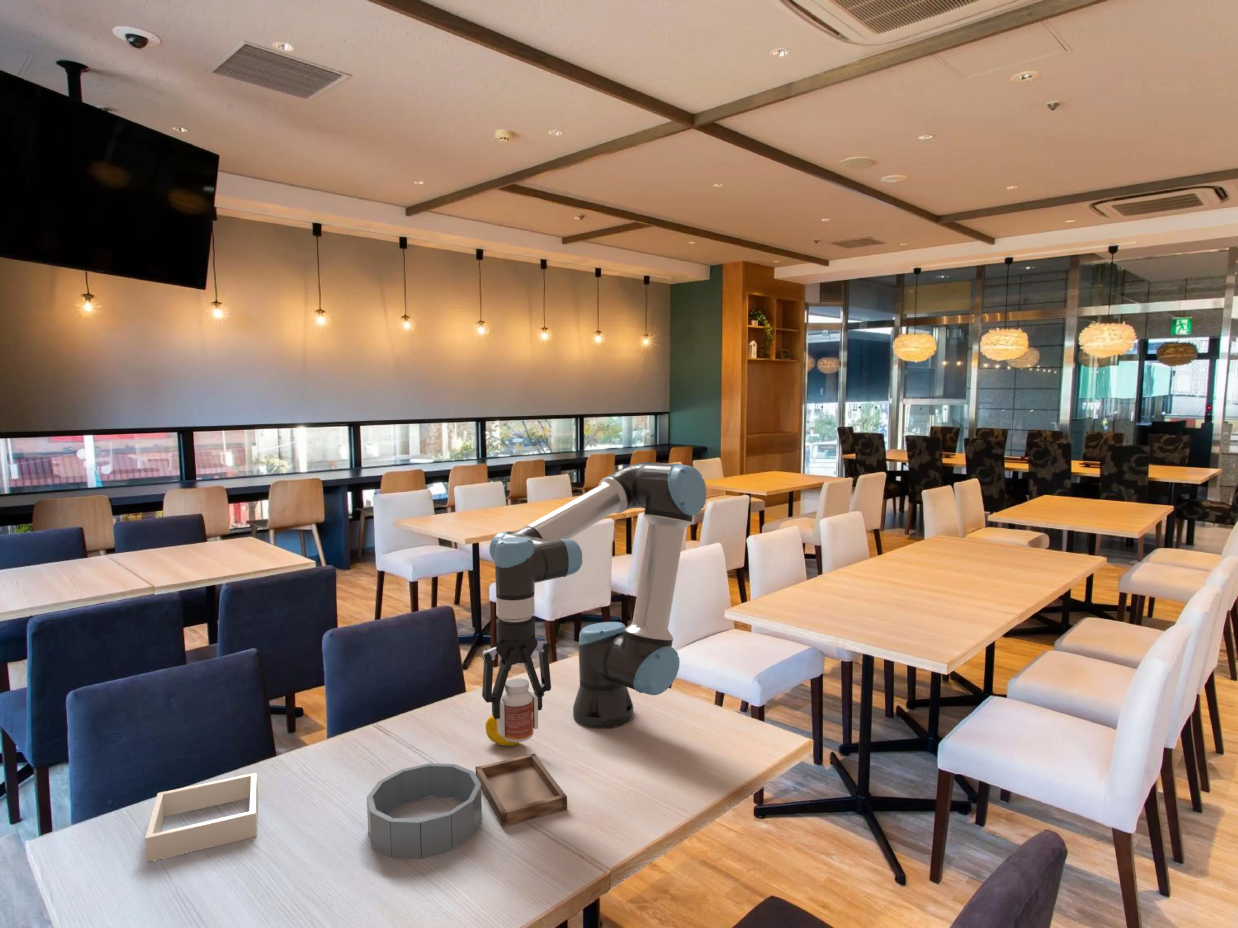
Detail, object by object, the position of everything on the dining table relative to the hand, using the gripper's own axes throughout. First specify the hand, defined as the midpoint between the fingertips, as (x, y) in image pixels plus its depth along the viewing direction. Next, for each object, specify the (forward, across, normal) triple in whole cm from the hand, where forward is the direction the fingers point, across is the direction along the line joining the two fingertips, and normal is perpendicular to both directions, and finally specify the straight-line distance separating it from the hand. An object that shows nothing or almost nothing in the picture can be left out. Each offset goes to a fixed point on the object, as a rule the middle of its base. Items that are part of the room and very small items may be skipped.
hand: (517, 729), depth 144 cm
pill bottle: (+2, 0, 0) cm, 2 cm away
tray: (+14, 0, 0) cm, 14 cm away
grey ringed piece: (+14, +19, +2) cm, 23 cm away
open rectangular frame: (+14, +56, -16) cm, 60 cm away
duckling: (+14, -4, -21) cm, 25 cm away
